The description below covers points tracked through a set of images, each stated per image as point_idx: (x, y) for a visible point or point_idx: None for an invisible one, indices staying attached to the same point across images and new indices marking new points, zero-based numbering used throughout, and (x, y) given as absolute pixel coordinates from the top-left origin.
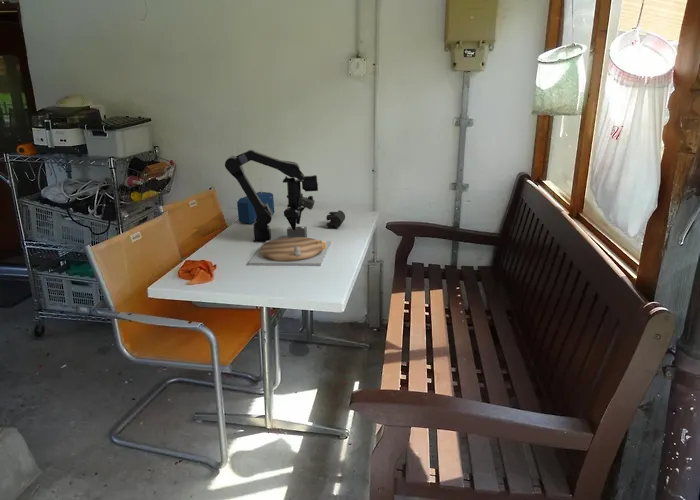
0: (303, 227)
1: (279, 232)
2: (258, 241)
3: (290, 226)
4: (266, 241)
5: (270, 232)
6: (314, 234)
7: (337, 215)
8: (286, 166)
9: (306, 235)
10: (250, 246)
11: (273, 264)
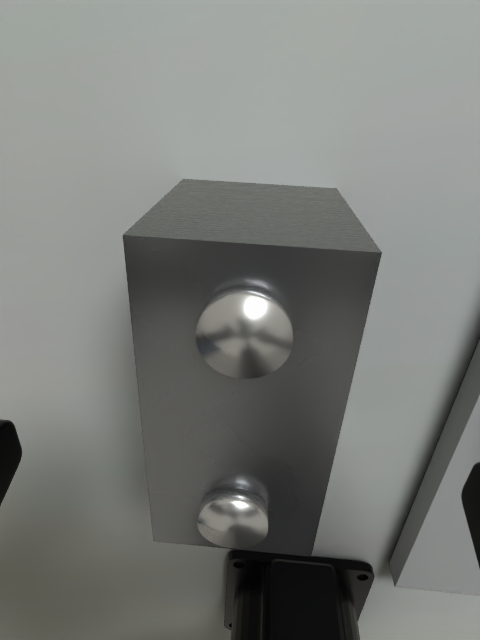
0: (278, 304)
1: (36, 502)
2: (358, 615)
3: (203, 535)
4: (421, 587)
5: (292, 631)
6: (13, 48)
7: None
8: None
9: (225, 190)
10: (457, 636)
11: None
